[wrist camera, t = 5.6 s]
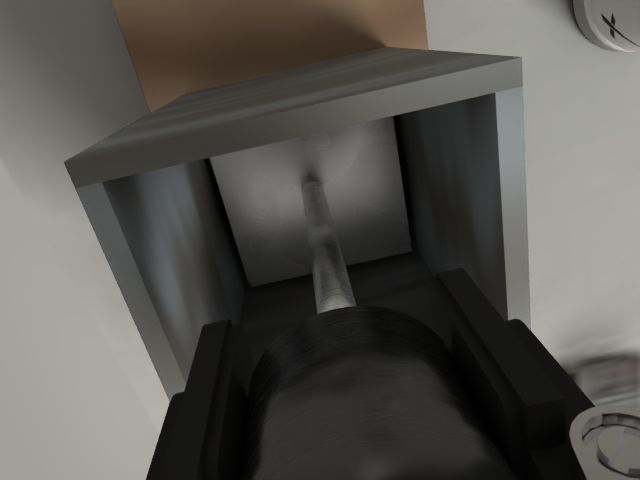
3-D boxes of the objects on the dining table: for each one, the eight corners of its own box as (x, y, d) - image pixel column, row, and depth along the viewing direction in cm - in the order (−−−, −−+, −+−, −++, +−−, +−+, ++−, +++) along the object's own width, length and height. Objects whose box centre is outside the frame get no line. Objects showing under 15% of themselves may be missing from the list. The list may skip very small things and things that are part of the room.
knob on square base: (201, 119, 20) (-67, 387, 5) (383, 77, 20) (725, 211, 5) (251, 278, 23) (189, 752, 8) (407, 243, 23) (658, 655, 8)
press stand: (117, -8, 22) (-172, -91, 8) (405, -76, 22) (628, -283, 8) (235, 334, 30) (193, 594, 16) (447, 286, 30) (595, 509, 16)
